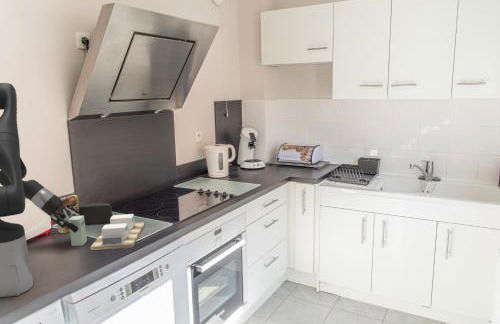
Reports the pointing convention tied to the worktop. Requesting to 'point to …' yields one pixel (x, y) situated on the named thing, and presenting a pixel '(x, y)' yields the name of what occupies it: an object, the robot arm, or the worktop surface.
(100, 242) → the board
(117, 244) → the beige flat plate
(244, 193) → the worktop surface
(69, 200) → the candy box
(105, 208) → the dark grey rounded block
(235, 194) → the worktop surface
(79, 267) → the worktop surface
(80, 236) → the block
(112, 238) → the mounted blocks
